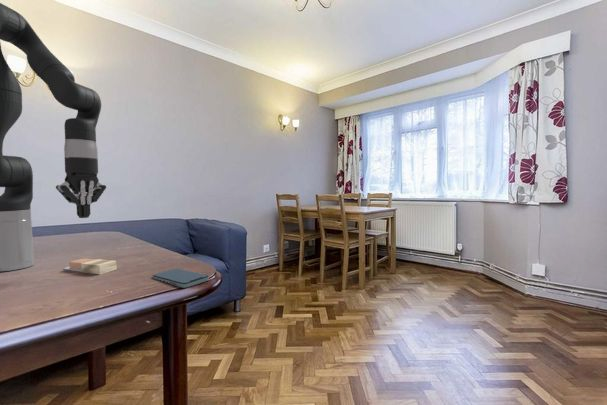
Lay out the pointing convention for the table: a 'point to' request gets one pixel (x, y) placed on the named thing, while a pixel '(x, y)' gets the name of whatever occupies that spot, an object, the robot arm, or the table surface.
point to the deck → (98, 266)
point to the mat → (71, 269)
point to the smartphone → (181, 277)
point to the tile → (78, 263)
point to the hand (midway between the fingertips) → (83, 217)
